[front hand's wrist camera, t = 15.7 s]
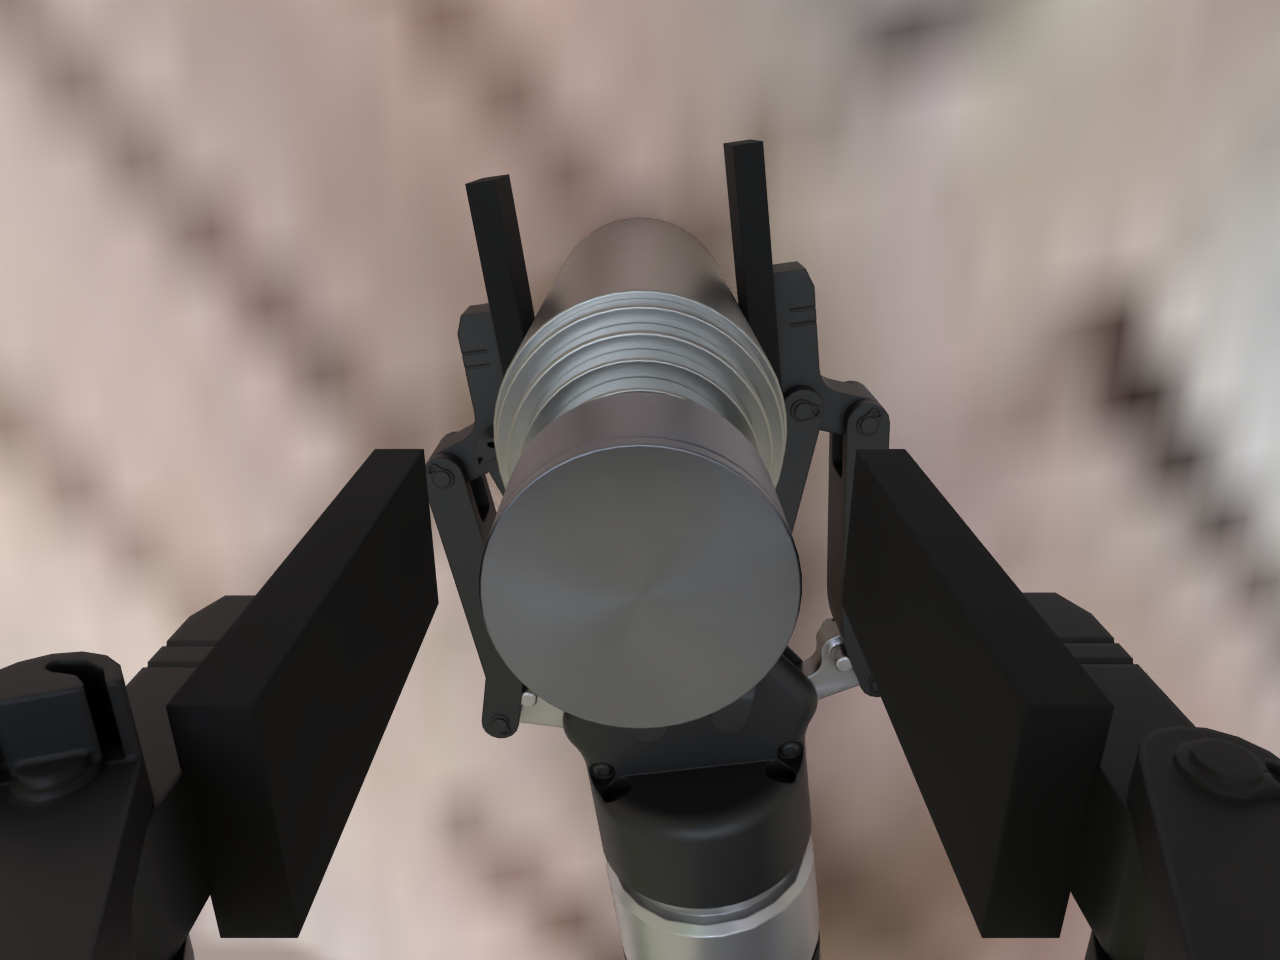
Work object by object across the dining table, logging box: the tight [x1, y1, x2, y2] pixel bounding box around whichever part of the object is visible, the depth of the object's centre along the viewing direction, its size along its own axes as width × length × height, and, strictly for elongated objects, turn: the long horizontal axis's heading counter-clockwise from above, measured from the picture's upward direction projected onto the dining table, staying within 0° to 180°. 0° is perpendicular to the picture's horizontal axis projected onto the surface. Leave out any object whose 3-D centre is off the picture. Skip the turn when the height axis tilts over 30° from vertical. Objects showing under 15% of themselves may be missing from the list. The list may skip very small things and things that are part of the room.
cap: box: [479, 392, 802, 729], centre depth 13 cm, size 4×4×2 cm
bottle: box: [493, 218, 787, 490], centre depth 22 cm, size 6×6×20 cm
